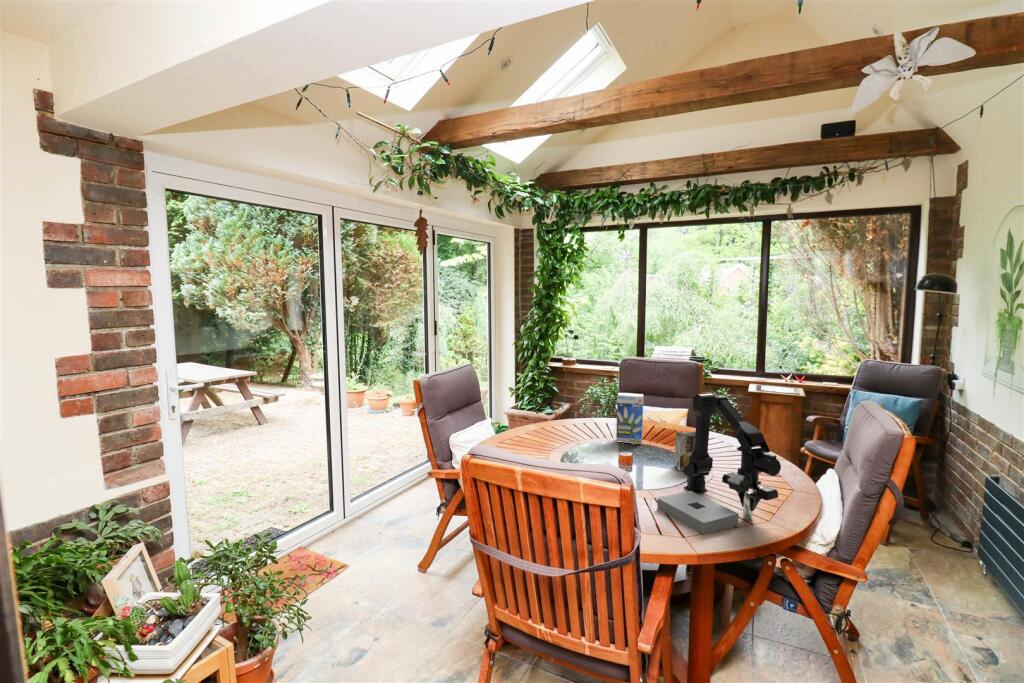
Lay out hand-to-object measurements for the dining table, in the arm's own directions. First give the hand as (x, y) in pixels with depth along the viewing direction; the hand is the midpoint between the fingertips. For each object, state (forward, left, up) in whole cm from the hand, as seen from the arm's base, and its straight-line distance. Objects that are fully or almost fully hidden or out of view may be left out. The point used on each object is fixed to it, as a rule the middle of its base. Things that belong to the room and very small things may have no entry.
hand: (747, 509), depth 175 cm
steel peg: (0, 0, -3) cm, 3 cm away
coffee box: (-47, +18, -4) cm, 50 cm away
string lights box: (-90, +20, -4) cm, 92 cm away
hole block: (-9, -15, -3) cm, 18 cm away
